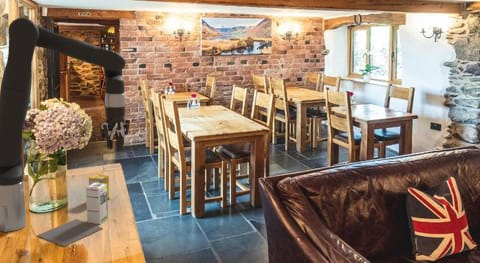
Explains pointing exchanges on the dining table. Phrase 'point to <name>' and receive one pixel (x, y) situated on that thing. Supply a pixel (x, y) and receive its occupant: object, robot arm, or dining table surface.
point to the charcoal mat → (69, 232)
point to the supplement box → (100, 181)
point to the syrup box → (96, 203)
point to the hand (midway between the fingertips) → (115, 147)
